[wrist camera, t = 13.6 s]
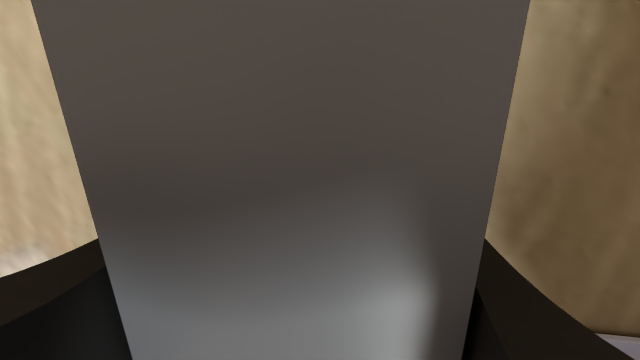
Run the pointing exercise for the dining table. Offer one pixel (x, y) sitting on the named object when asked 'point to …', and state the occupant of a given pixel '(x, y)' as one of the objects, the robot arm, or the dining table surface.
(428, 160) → the grey rectangular block
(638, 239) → the dining table surface
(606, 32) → the dining table surface
